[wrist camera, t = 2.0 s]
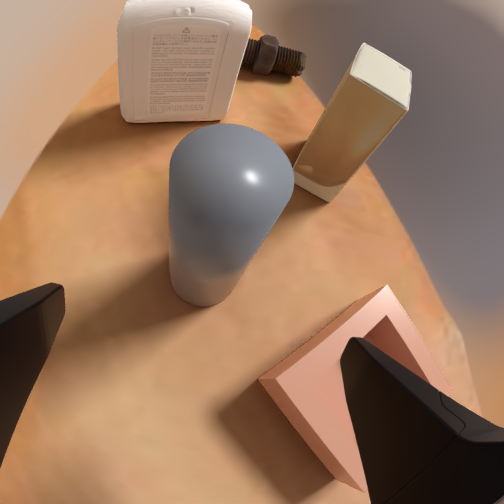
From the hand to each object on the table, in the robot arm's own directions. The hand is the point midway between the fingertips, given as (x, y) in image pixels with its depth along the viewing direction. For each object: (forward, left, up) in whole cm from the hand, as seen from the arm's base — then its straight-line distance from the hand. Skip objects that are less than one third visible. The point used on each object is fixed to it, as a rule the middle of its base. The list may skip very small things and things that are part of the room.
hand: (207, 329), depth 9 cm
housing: (+8, -9, -12) cm, 17 cm away
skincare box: (+18, +7, -12) cm, 23 cm away
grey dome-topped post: (+4, +4, -12) cm, 13 cm away
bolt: (+20, +24, -12) cm, 33 cm away
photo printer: (+10, +19, -12) cm, 25 cm away
